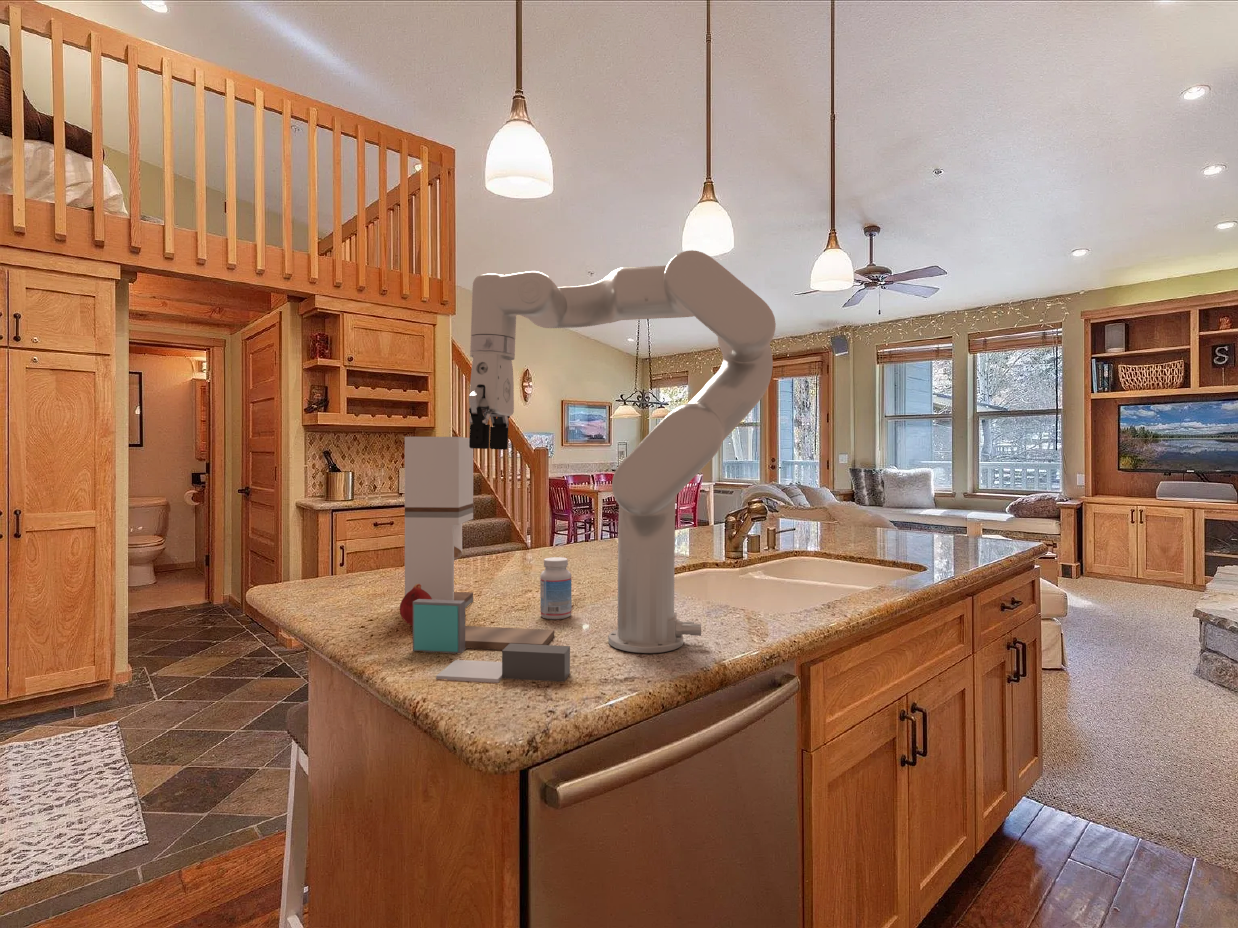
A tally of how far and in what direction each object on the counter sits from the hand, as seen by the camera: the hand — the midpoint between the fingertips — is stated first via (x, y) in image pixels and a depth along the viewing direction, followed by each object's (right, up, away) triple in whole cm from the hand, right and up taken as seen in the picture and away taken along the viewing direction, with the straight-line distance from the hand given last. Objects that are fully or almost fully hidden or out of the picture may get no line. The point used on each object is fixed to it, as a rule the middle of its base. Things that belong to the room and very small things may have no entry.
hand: (489, 448), depth 109 cm
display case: (-14, -32, +21) cm, 41 cm away
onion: (-14, -33, +6) cm, 36 cm away
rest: (+2, -33, -2) cm, 33 cm away
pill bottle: (+10, -33, +15) cm, 37 cm away
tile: (-7, -33, -7) cm, 34 cm away
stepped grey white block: (+6, -33, -18) cm, 38 cm away
